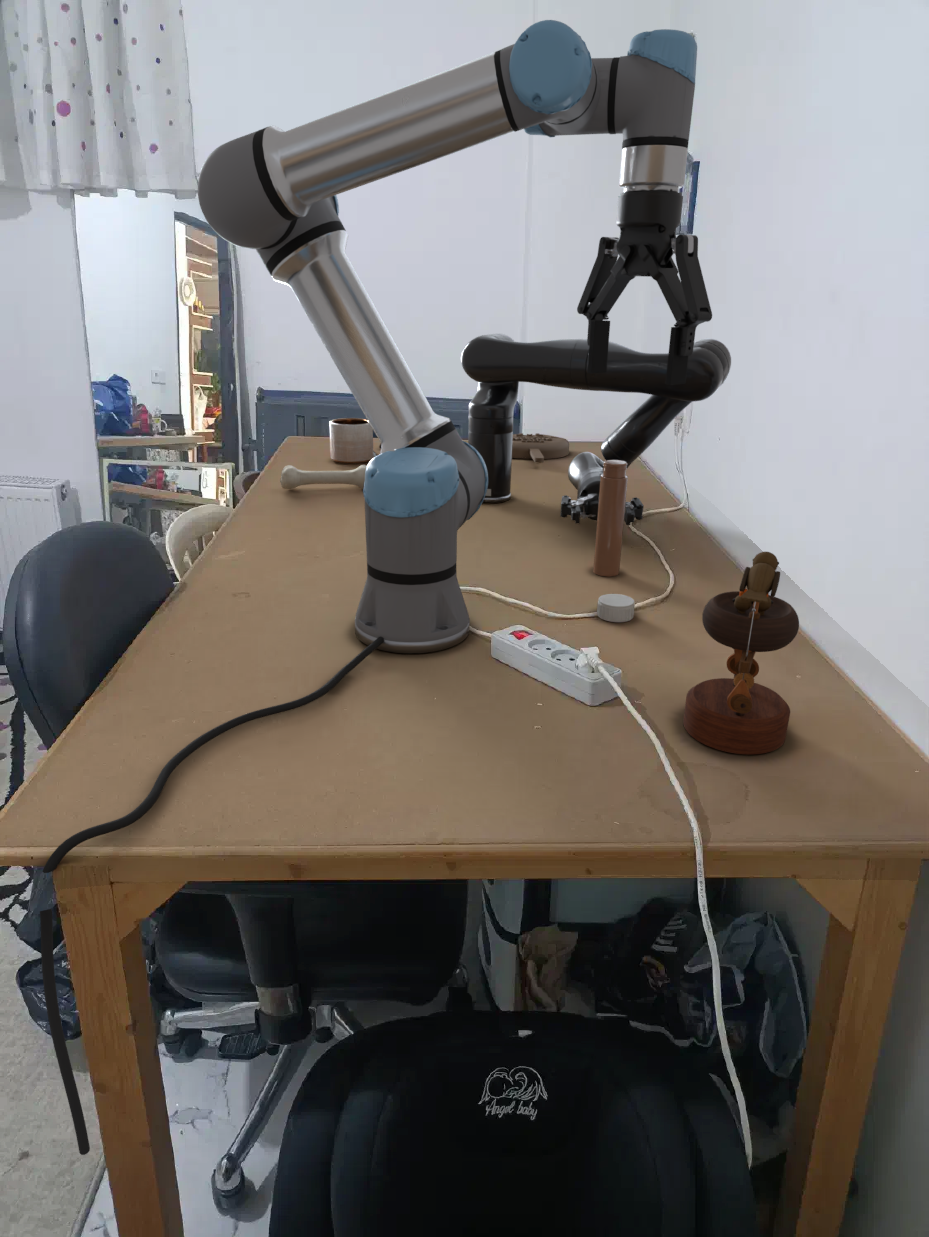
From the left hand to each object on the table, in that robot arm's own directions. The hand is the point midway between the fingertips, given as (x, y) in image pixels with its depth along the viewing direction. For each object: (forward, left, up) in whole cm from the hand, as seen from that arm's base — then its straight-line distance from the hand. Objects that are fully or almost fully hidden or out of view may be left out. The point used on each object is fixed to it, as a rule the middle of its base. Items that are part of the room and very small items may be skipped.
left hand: (634, 378), depth 107 cm
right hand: (+28, +1, -26) cm, 38 cm away
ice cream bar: (+109, +14, -32) cm, 114 cm away
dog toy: (+67, +58, -32) cm, 94 cm away
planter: (+97, +60, -32) cm, 119 cm away
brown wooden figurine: (-30, -11, -32) cm, 46 cm away
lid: (0, 0, -30) cm, 31 cm away
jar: (+19, 0, -32) cm, 38 cm away
